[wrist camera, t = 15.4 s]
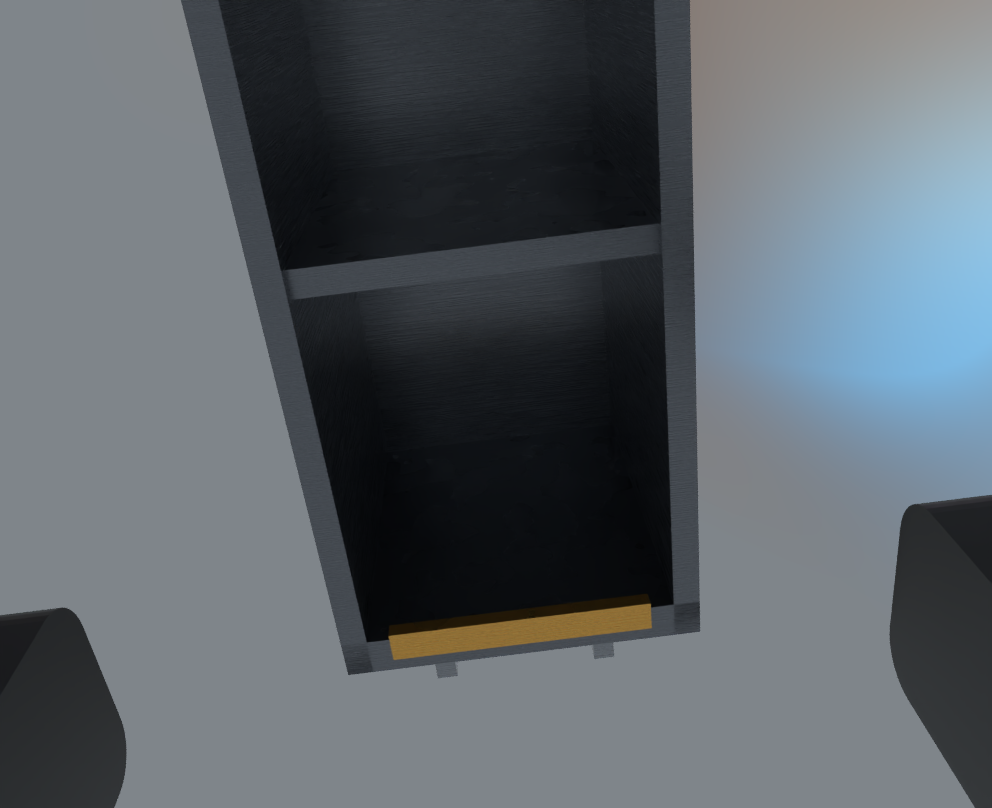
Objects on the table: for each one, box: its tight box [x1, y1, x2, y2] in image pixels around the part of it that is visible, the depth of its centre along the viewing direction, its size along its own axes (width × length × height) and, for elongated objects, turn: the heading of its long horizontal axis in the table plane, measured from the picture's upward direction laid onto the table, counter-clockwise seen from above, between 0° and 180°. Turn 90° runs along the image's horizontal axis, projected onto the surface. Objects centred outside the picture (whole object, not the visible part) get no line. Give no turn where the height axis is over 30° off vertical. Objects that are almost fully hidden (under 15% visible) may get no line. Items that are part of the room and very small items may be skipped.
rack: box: [181, 0, 700, 678], centre depth 36 cm, size 17×14×33 cm
